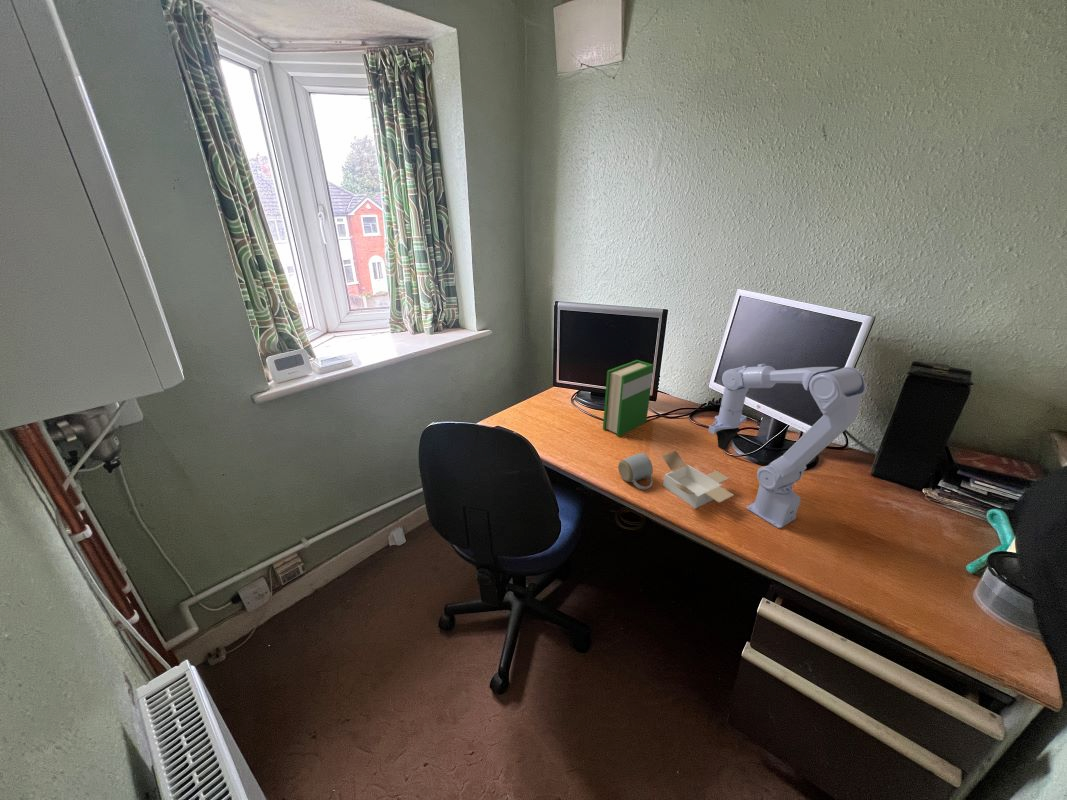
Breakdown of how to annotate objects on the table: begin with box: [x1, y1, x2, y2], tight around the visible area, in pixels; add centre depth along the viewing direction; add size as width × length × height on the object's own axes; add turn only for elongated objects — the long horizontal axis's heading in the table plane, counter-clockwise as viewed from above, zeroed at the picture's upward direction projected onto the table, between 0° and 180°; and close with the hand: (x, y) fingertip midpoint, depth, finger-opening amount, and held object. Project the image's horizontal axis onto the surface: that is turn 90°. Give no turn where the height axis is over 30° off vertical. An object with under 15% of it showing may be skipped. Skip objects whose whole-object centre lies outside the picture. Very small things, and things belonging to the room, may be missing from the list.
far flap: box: [661, 450, 686, 471], centre depth 123 cm, size 5×6×1 cm
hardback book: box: [602, 359, 655, 438], centre depth 150 cm, size 18×7×24 cm, turn 131°
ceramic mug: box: [618, 452, 654, 491], centre depth 122 cm, size 11×8×8 cm
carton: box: [662, 464, 734, 510], centre depth 117 cm, size 16×15×4 cm
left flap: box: [673, 483, 695, 494], centre depth 111 cm, size 4×4×1 cm
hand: (722, 448), depth 121 cm, fingers closed
